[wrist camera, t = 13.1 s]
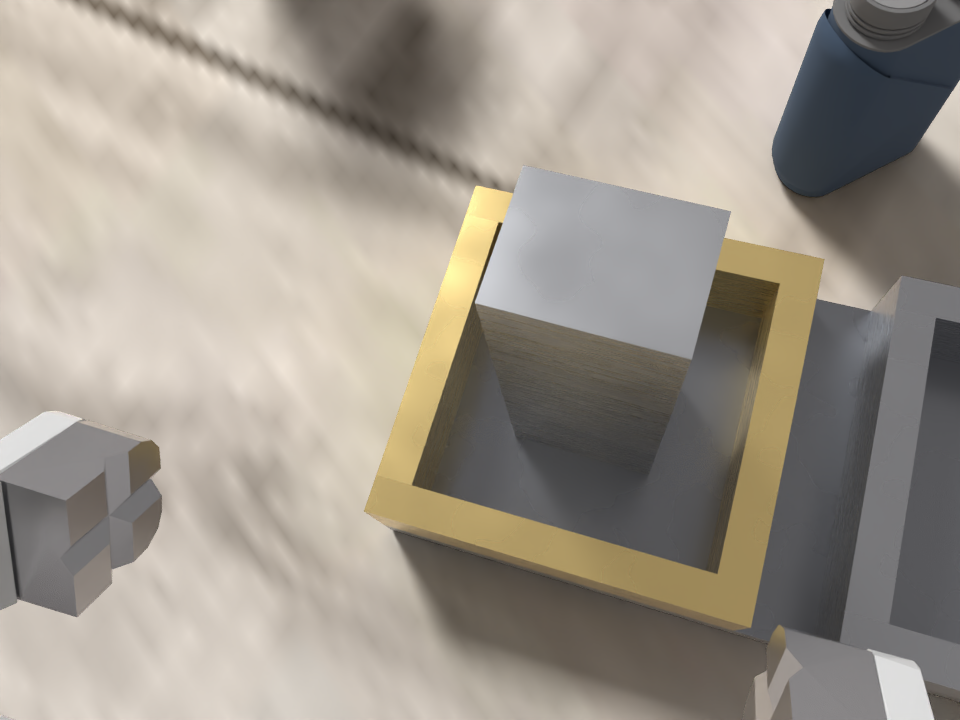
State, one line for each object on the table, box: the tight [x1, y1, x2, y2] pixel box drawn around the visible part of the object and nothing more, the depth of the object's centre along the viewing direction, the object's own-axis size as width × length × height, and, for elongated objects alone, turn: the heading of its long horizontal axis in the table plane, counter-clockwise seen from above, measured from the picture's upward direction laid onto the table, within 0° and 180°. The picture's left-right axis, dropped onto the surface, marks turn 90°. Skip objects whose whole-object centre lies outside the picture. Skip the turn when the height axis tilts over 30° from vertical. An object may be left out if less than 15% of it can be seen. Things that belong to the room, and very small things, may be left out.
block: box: [475, 165, 731, 475], centre depth 20 cm, size 3×4×10 cm
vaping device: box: [772, 0, 960, 197], centre depth 22 cm, size 3×5×12 cm, turn 116°
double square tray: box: [364, 186, 960, 702], centre depth 23 cm, size 10×22×4 cm, turn 73°
